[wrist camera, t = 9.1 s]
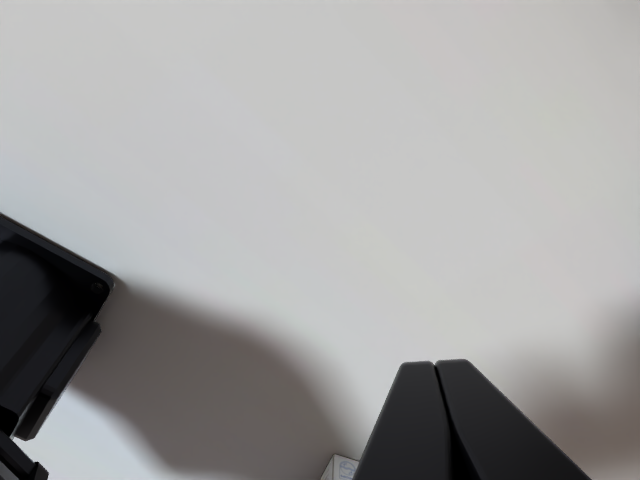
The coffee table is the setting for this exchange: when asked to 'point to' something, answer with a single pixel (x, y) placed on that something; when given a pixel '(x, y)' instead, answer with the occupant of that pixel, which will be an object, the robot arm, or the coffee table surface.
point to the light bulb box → (340, 469)
